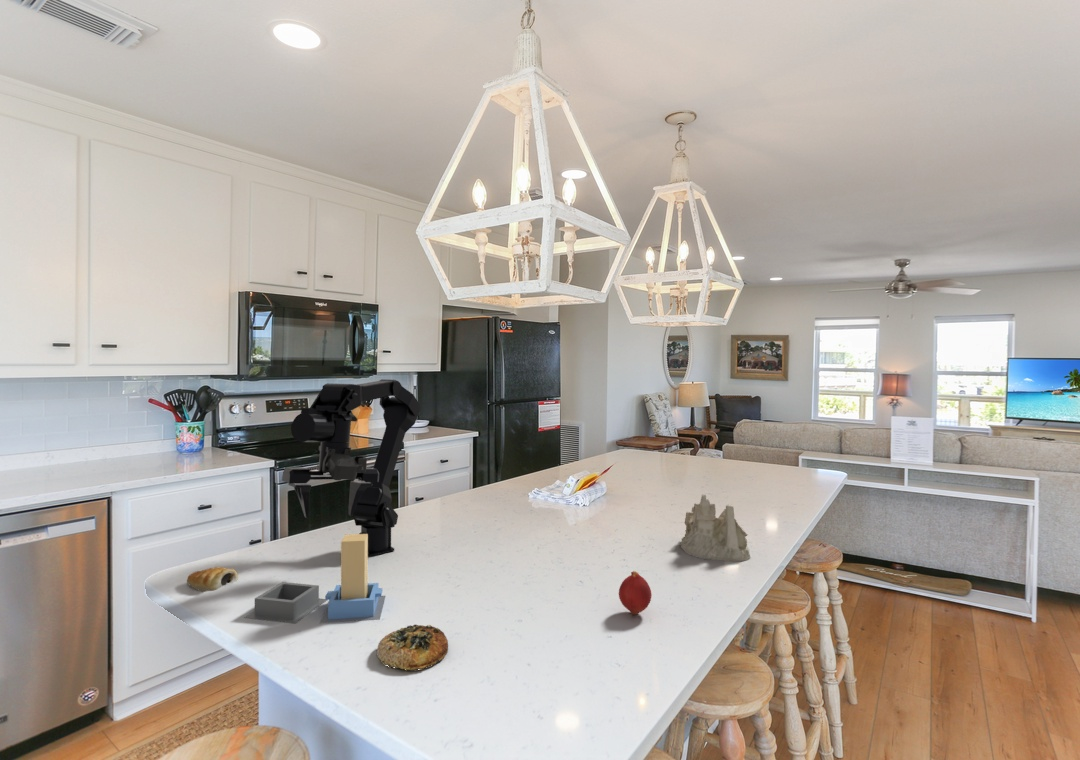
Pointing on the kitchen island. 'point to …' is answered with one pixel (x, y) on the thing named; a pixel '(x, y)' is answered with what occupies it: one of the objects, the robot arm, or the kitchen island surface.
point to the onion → (635, 593)
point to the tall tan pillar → (354, 566)
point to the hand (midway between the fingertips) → (328, 516)
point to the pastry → (212, 578)
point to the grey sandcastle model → (714, 534)
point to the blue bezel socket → (354, 606)
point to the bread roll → (413, 647)
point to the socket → (287, 603)
